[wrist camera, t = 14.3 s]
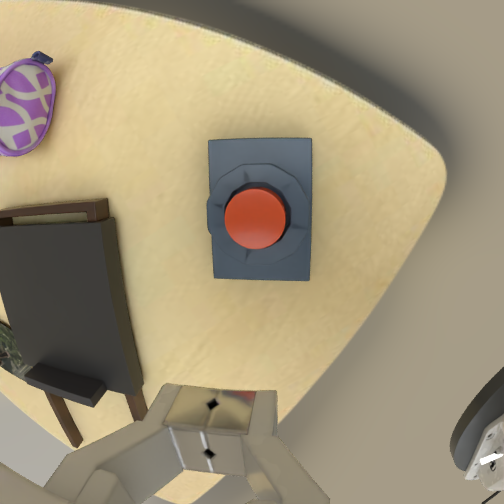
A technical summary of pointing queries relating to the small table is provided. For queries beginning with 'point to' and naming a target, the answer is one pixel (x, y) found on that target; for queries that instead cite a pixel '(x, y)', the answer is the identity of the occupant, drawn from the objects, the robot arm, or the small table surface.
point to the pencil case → (25, 104)
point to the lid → (69, 308)
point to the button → (255, 218)
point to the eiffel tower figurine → (11, 354)
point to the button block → (279, 181)
